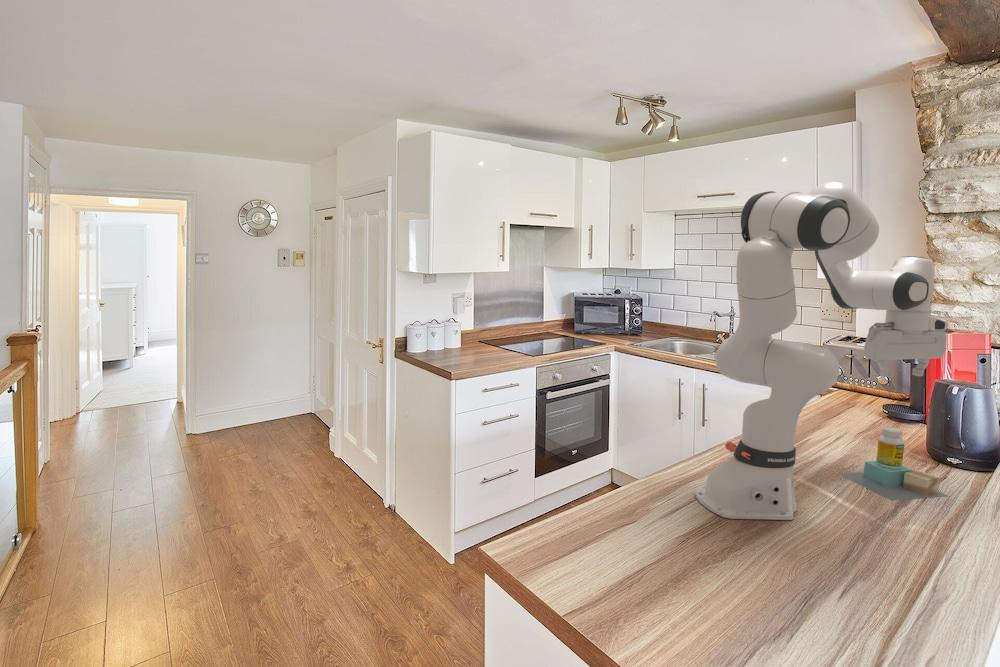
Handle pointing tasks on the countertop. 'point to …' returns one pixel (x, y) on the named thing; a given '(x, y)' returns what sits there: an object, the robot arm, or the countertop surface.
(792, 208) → the robot arm
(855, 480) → the plate
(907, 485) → the brick
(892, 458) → the supplement bottle
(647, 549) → the countertop surface
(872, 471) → the base brick
